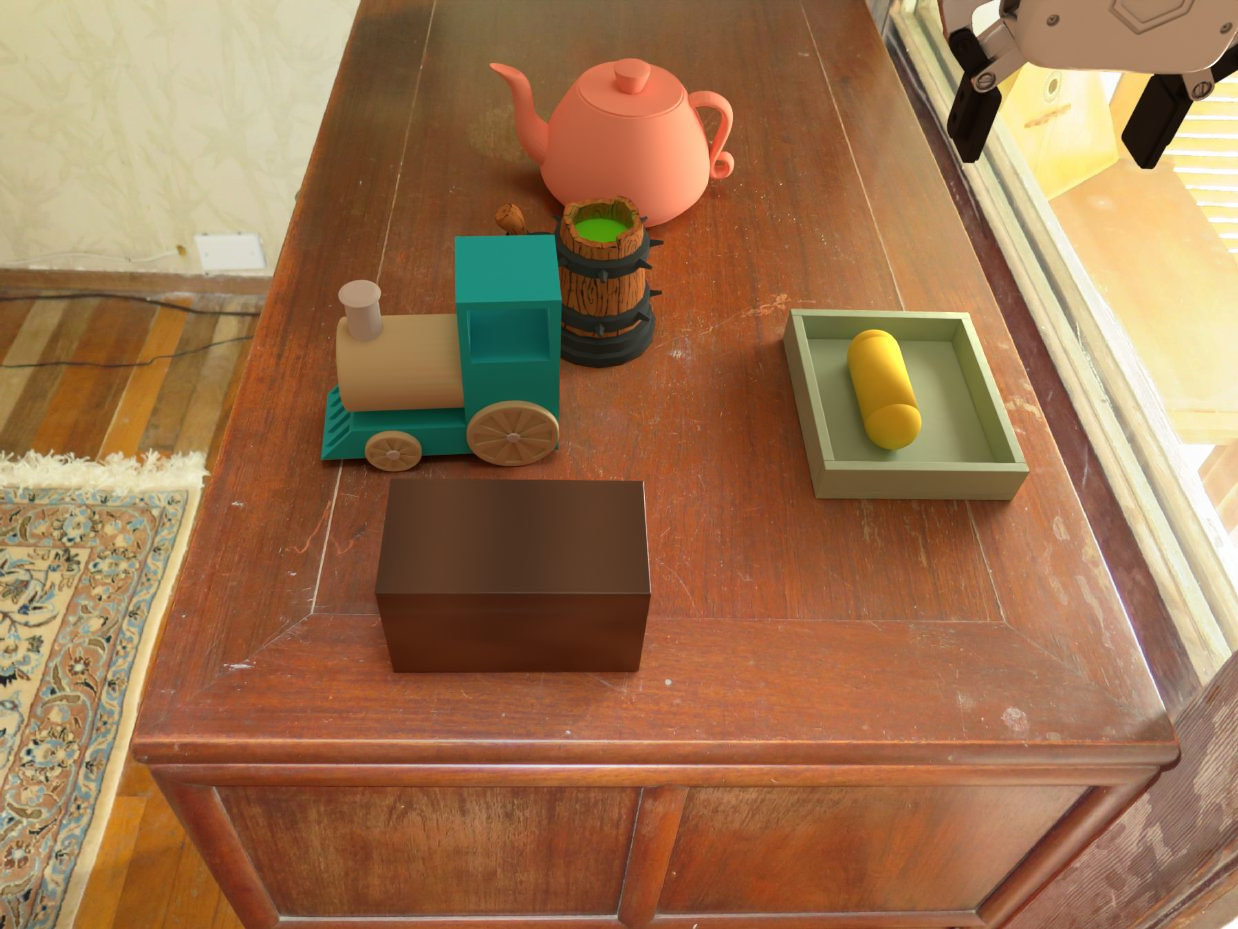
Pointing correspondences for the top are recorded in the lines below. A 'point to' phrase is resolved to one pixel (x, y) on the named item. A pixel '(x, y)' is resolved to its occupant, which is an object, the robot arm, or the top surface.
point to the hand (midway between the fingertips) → (1049, 151)
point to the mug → (599, 278)
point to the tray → (945, 395)
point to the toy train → (454, 364)
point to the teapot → (624, 138)
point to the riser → (514, 575)
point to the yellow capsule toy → (883, 390)
